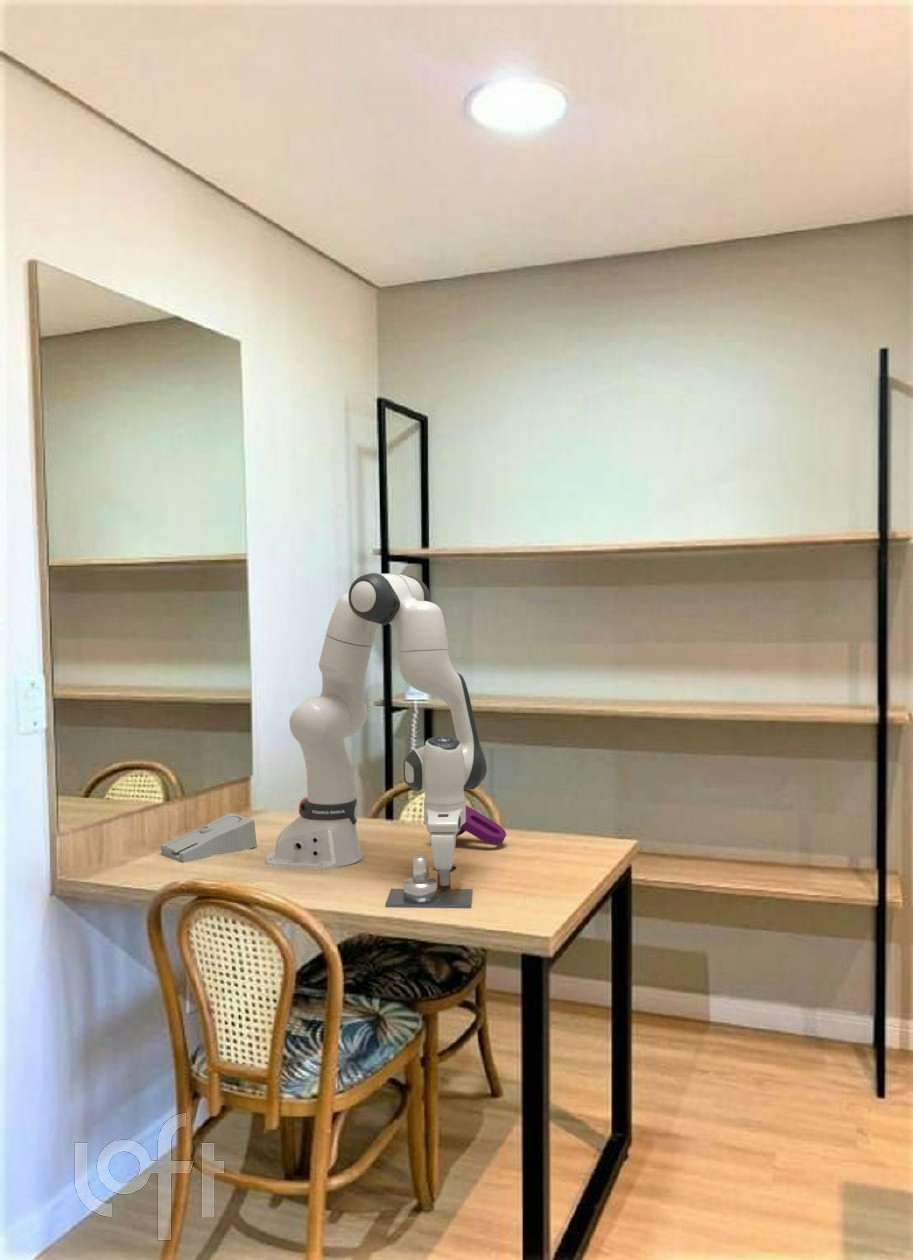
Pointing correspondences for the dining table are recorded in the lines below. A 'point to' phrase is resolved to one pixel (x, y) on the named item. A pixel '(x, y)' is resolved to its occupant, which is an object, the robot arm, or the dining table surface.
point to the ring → (453, 877)
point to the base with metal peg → (427, 891)
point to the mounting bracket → (482, 828)
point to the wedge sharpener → (213, 839)
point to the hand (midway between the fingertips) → (445, 878)
